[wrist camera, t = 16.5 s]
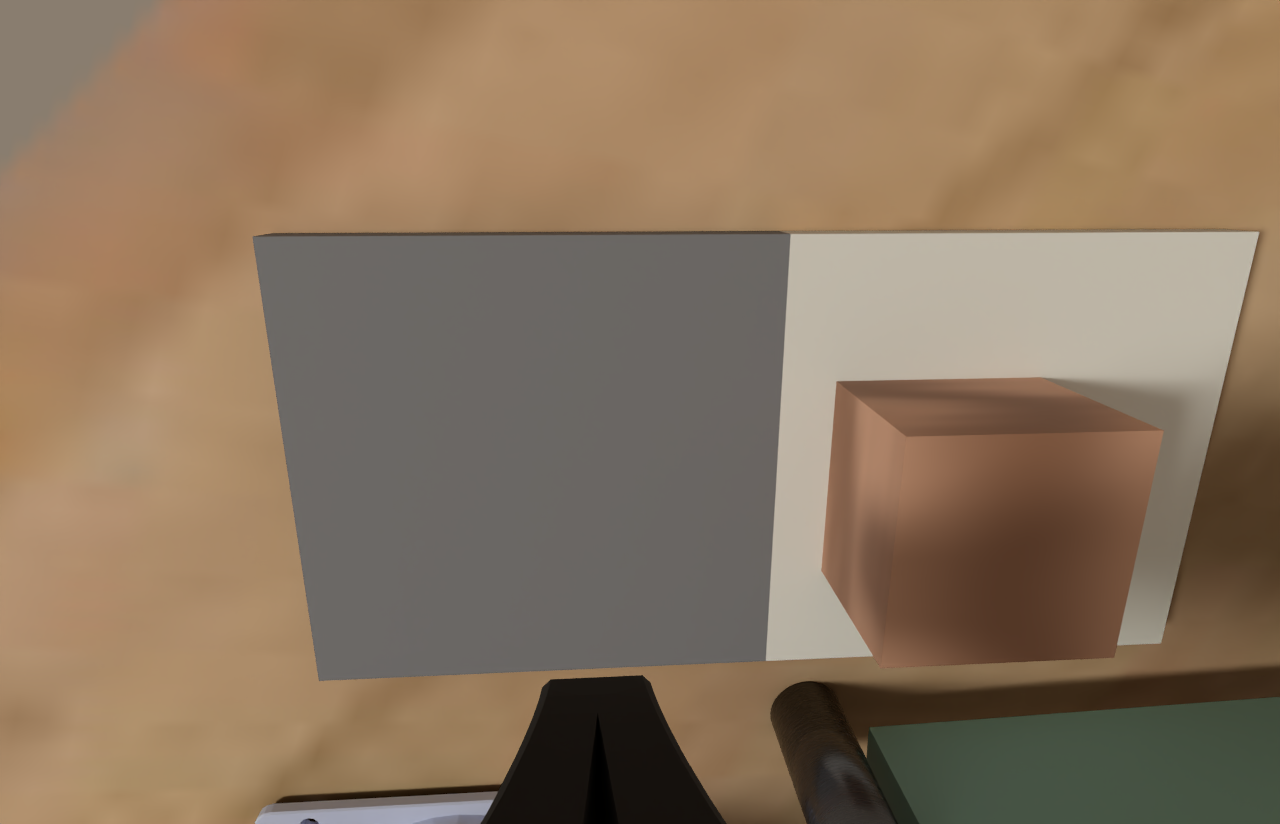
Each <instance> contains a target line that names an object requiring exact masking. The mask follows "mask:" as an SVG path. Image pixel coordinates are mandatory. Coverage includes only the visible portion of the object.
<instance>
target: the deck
mask: <svg viewBox="0 0 1280 824" xmlns="http://www.w3.org/2000/svg"><path fill="white" fill-rule="evenodd" d="M1258 235H1259V232H1256V231H1243V230H1230V229H1132V230H912V231H691V232H471V233H271V234H265V235H259V236H253V243H254V250H255V256H256V263H257V270H258V276H259V283H260V290H261V296H262V303H263V310H264V316H265V323H266V330H267V337H268V343H269V350H270V357H271V363H272V370H273V377H274V383H275V390H276V397H277V403H278V410H279V417H280V423H281V430H282V437H283V444H284V450H285V457H286V464H287V470H288V477H289V484H290V490H291V497H292V504H293V510H294V517H295V524H296V530H297V537H298V544H299V550H300V557H301V564H302V571H303V577H304V584H305V591H306V597H307V604H308V611H309V617H310V624H311V631H312V637H313V644H314V651H315V657H316V664H317V671H318V677H319V681H325V680H347V679H370V678H392V677H415V676H437V675H460V674H482V673H505V672H527V671H549V670H572V669H594V668H617V667H639V666H662V665H684V664H707V663H729V662H752V661H774V660H797V659H819V658H842V657H864V656H873V655H872V653H871V652H870V650H869V648H868V647H867V645H866V643H865V642H864V640H863V639H862V637H861V635H860V634H859V632H858V630H857V629H856V627H855V625H854V624H853V622H852V620H851V619H850V617H849V616H848V614H847V612H846V611H845V609H844V607H843V606H842V604H841V602H840V601H839V599H838V597H837V596H836V594H835V592H834V591H833V589H832V588H831V586H830V584H829V583H828V581H827V579H826V578H825V576H824V574H823V573H822V571H821V568H822V556H823V543H824V531H825V518H826V506H827V493H828V481H829V468H830V456H831V443H832V431H833V418H834V406H835V394H836V381H874V380H926V379H979V378H1031V377H1041V378H1043V379H1046V380H1048V381H1050V382H1053V383H1055V384H1057V385H1060V386H1062V387H1064V388H1067V389H1069V390H1071V391H1073V392H1076V393H1078V394H1080V395H1083V396H1085V397H1087V398H1090V399H1092V400H1094V401H1097V402H1099V403H1101V404H1104V405H1106V406H1108V407H1111V408H1113V409H1115V410H1118V411H1120V412H1122V413H1125V414H1127V415H1129V416H1131V417H1134V418H1136V419H1138V420H1141V421H1143V422H1145V423H1148V424H1150V425H1152V426H1155V427H1157V428H1159V429H1162V430H1164V432H1163V437H1162V441H1161V446H1160V451H1159V455H1158V460H1157V464H1156V469H1155V473H1154V478H1153V483H1152V487H1151V492H1150V496H1149V501H1148V505H1147V510H1146V515H1145V519H1144V524H1143V528H1142V533H1141V537H1140V542H1139V547H1138V551H1137V556H1136V560H1135V565H1134V570H1133V574H1132V579H1131V583H1130V588H1129V592H1128V597H1127V602H1126V606H1125V611H1124V615H1123V620H1122V624H1121V629H1120V634H1119V638H1118V643H1117V645H1134V644H1156V643H1161V641H1162V637H1163V633H1164V629H1165V624H1166V620H1167V616H1168V612H1169V608H1170V603H1171V599H1172V595H1173V591H1174V587H1175V583H1176V578H1177V574H1178V570H1179V566H1180V562H1181V557H1182V553H1183V549H1184V545H1185V541H1186V537H1187V532H1188V528H1189V524H1190V520H1191V516H1192V511H1193V507H1194V503H1195V499H1196V495H1197V491H1198V486H1199V482H1200V478H1201V474H1202V470H1203V465H1204V461H1205V457H1206V453H1207V449H1208V445H1209V440H1210V436H1211V432H1212V428H1213V424H1214V419H1215V415H1216V411H1217V407H1218V403H1219V399H1220V394H1221V390H1222V386H1223V382H1224V378H1225V373H1226V369H1227V365H1228V361H1229V357H1230V353H1231V348H1232V344H1233V340H1234V336H1235V332H1236V327H1237V323H1238V319H1239V315H1240V311H1241V307H1242V302H1243V298H1244V294H1245V290H1246V286H1247V281H1248V277H1249V273H1250V269H1251V265H1252V261H1253V256H1254V252H1255V248H1256V244H1257V240H1258Z"/></svg>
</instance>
